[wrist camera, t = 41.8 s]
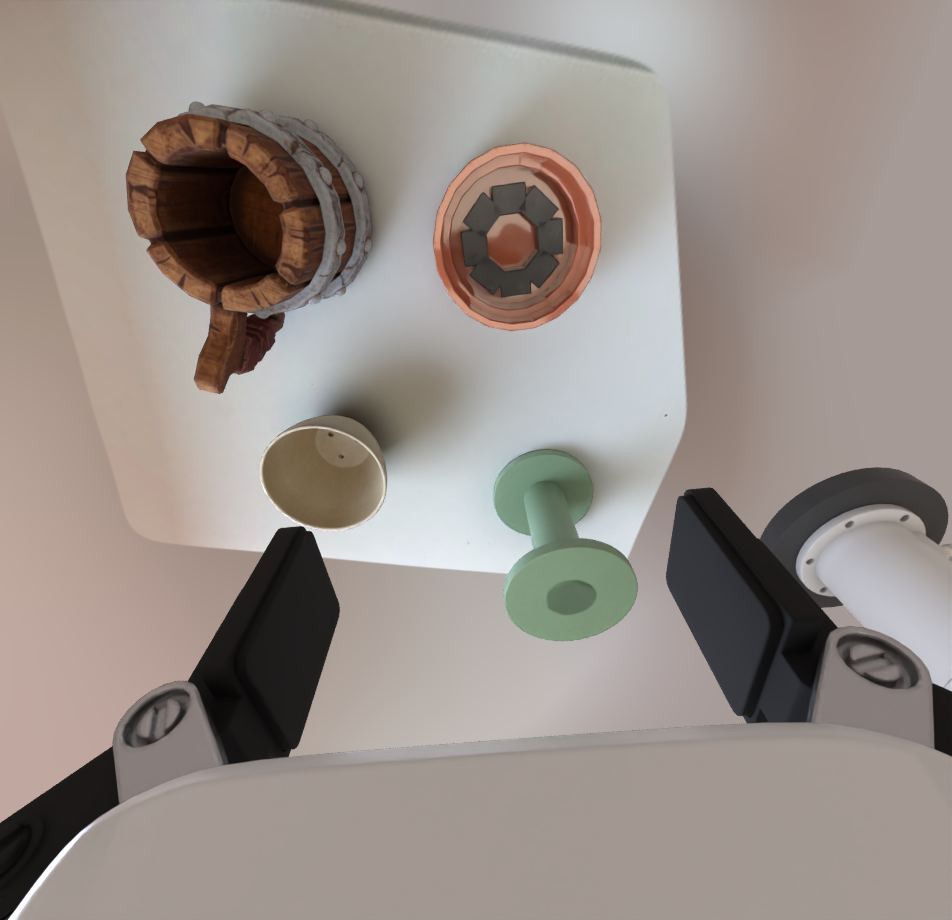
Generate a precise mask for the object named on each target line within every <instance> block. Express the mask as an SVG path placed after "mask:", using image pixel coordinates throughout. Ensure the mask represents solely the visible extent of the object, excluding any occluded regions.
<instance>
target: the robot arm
mask: <svg viewBox="0 0 952 920" xmlns="http://www.w3.org/2000/svg"><path fill="white" fill-rule="evenodd" d="M796 572H797V575H798V577H799V579H800V580H801V581H802V582H803V583H804V585H805V586H806V587H807V588H808V589H810V590H811V591H813V592H815V593H817V594H820V595H825V596H835V597H837V598H838V599H839V601H840V602H841V603H842V604H843V605H844V606H845V607H846V608H847V609H848V610H849V611H850V612H851V613H852V614H853V615H854V616H855V617H856V619H858V620H859V622H860V623H861V624H862V625H863V626H864V627H865V628H864V627H854V626H847V627H841V628H838V627H837V626H836V625H835V624H834V623H833V622H832V621H831V619H829V617H828V616H827V615H826V614H825V613H824V612H823V610H822V609H821V608H820V607H819V606H818V604H817V603H816V602H815V601H814V600H813V599H812V598H811V596H810V595H809V594H808V593H807V592H806V591H805V590H804V589H803V587H802V586H801V585H800V584H799V583H798V582H797V581H796V579H795V578H794V577H793V576H792V575H791V574H790V573H789V571H788V570H787V569H786V568H785V567H784V566H783V565H782V563H781V562H780V561H779V560H778V559H777V558H776V557H775V555H774V554H773V553H772V552H771V551H770V550H769V549H768V547H767V546H766V545H765V544H764V543H763V542H762V541H761V540H760V539H758V538H756V537H755V536H754V535H753V534H752V532H751V531H750V530H749V529H748V528H747V527H746V525H745V524H744V523H743V522H742V521H741V520H740V519H739V517H738V516H737V515H736V514H735V513H734V512H733V511H732V509H731V508H730V507H729V506H728V505H727V504H726V502H725V501H724V500H723V499H722V498H721V497H720V495H719V494H718V493H717V492H716V491H715V490H714V489H713V488H700V489H689V490H687V491H686V492H685V493H684V496H680V497H679V498H678V500H677V505H676V512H675V519H674V525H673V532H672V539H671V545H670V552H669V558H668V565H667V572H666V580H667V585H668V588H669V590H670V592H671V594H672V596H673V598H674V599H675V601H676V603H677V605H678V607H679V609H680V611H681V613H682V615H683V617H684V618H685V620H686V622H687V624H688V626H689V628H690V630H691V632H692V634H693V636H694V638H695V640H696V641H697V643H698V645H699V647H700V649H701V651H702V653H703V655H704V657H705V659H706V661H707V662H708V664H709V666H710V668H711V670H712V672H713V674H714V676H715V678H716V680H717V681H718V683H719V685H720V687H721V689H722V691H723V693H724V695H725V697H726V699H727V701H728V702H729V704H730V706H731V708H732V709H733V711H734V712H735V714H736V715H738V716H743V717H744V719H745V720H746V722H747V724H730V725H710V726H690V727H675V728H662V729H646V730H632V731H618V732H603V733H589V734H574V735H561V736H547V737H534V738H519V739H507V740H506V739H505V740H493V741H479V742H465V743H452V744H439V745H427V746H414V747H401V748H389V749H376V750H363V751H351V752H338V753H326V754H317V755H306V756H296V757H289V754H290V751H291V749H295V748H297V746H298V744H299V742H300V739H301V736H302V733H303V730H304V727H305V723H306V720H307V717H308V714H309V711H310V707H311V704H312V701H313V698H314V695H315V691H316V688H317V685H318V682H319V679H320V676H321V672H322V669H323V666H324V663H325V660H326V656H327V653H328V650H329V647H330V644H331V641H332V637H333V634H334V631H335V628H336V625H337V621H338V618H339V612H340V607H339V602H338V599H337V597H336V594H335V591H334V589H333V586H332V584H331V581H330V578H329V576H328V573H327V570H326V567H325V564H324V562H323V559H322V556H321V554H320V551H319V548H318V546H317V543H316V540H315V538H314V535H313V533H312V532H311V531H306V529H305V528H304V527H302V526H298V527H288V528H280V529H278V530H277V532H276V533H275V535H274V537H273V538H272V540H271V542H270V543H269V545H268V547H267V549H266V550H265V552H264V554H263V556H262V557H261V559H260V561H259V562H258V564H257V566H256V567H255V569H254V571H253V573H252V574H251V576H250V578H249V579H248V581H247V583H246V584H245V586H244V588H243V589H242V590H241V592H240V593H239V595H238V597H237V598H236V600H235V602H234V604H233V605H232V607H231V609H230V610H229V612H228V614H227V616H226V617H225V619H224V621H223V622H222V624H221V626H220V627H219V629H218V631H217V632H216V634H215V636H214V638H213V639H212V641H211V643H210V644H209V646H208V648H207V649H206V651H205V653H204V655H203V656H202V658H201V660H200V661H199V663H198V665H197V666H196V668H195V670H194V671H193V673H192V675H191V677H190V678H189V680H188V681H174V682H171V683H167V684H164V685H162V686H160V687H158V688H156V689H154V690H152V691H150V692H149V693H147V694H146V695H144V696H143V697H142V698H140V699H139V700H138V701H137V702H136V703H135V704H134V705H133V706H132V707H130V708H129V709H128V710H127V712H126V713H125V715H124V716H123V717H122V718H121V720H120V721H119V723H118V725H117V727H116V730H115V732H114V737H113V746H112V747H111V748H109V749H108V750H106V751H105V752H103V753H102V754H100V755H99V756H97V757H96V758H94V759H93V760H92V761H90V762H89V763H87V764H86V765H84V766H83V767H81V768H80V769H78V770H77V771H76V772H74V773H73V774H71V775H70V776H68V777H67V778H65V779H64V780H62V781H61V782H60V783H58V784H56V785H55V786H53V787H52V788H51V789H49V790H48V791H46V792H45V793H43V794H42V795H40V796H39V797H37V798H36V799H34V800H33V801H32V802H30V803H29V804H27V805H26V806H24V807H23V808H21V809H20V810H18V811H17V812H16V813H14V814H13V815H11V816H10V817H8V818H7V819H5V820H4V821H2V822H1V823H0V920H952V544H946V545H943V546H939V545H938V544H936V543H935V542H934V541H932V540H931V539H929V538H928V537H927V536H926V530H925V526H924V523H923V522H922V521H921V519H920V518H919V517H918V516H916V515H915V514H914V513H912V512H911V511H910V510H908V509H906V508H904V507H902V506H898V505H893V504H874V505H867V506H863V507H859V508H855V509H853V510H850V511H847V512H845V513H842V514H841V515H839V516H837V517H835V518H833V519H831V520H830V521H828V522H827V523H825V524H824V525H822V526H821V527H820V528H819V529H817V530H816V531H815V532H814V533H813V534H812V535H811V536H810V537H809V538H808V539H807V540H806V542H805V543H804V545H803V546H802V548H801V549H800V552H799V554H798V557H797V560H796Z"/></svg>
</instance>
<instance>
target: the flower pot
mask: <svg viewBox="0 0 952 920" xmlns="http://www.w3.org/2000/svg"><path fill="white" fill-rule="evenodd" d="M329 434H330V435H332V437H331V436H330V435H329ZM342 456H344V457H342ZM260 479H261V483H262V487H263V489H264V491H265V493H266V495H267V497H268V498H269V500H270V501H271V502H272V504H273V505H274V506H275V507H276V508H277V509H278V510H279V511H280V512H281V513H283V514H284V515H285V516H287V517H288V518H290V519H291V520H293V521H295V522H296V523H299V524H301V525H303V526H306V527H309V528H313V529H317V530H323V531H341V530H347V529H351V528H354V527H357V526H359V525H361V524H363V523H365V522H367V521H368V520H369V519H371V518H372V517H373V516H374V515H375V514H376V513H377V512H378V510H379V509H380V507H381V506H382V504H383V502H384V499H385V495H386V489H387V472H386V465H385V460H384V456H383V454H382V451H381V448H380V446H379V444H378V442H377V441H376V439H375V438H374V436H373V435H372V434H371V432H370V431H369V430H368V429H367V428H366V427H365V426H363V425H362V424H361V423H359V422H357V421H355V420H353V419H351V418H348V417H344V416H337V415H328V416H319V417H314V418H311V419H307V420H305V421H302V422H300V423H298V424H296V425H294V426H292V427H290V428H288V429H287V430H285V431H284V432H282V433H281V434H280V435H278V436H277V437H276V438H275V439H274V440H273V441H272V442H271V443H270V444H269V445H268V446H267V447H266V449H265V451H264V453H263V455H262V458H261V462H260Z"/></svg>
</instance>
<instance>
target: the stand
mask: <svg viewBox="0 0 952 920" xmlns="http://www.w3.org/2000/svg"><path fill="white" fill-rule="evenodd" d="M493 497H494V505H495V509H496V512H497V514H498V516H499V517H500V519H501V520H502V521H503V522H504V523H505V524H506V525H507V526H508V527H510V528H511V529H513V530H515V531H517V532H519V533H522V534H526V535H531V538H532V543H533V548H534V549H533V550H532V551H530V552H529V553H527V554H526V555H524V556H523V557H522V558H521V559H519V561H518V562H517V563H516V564H515V565H514V566H513V567H512V569H511V570H510V572H509V574H508V576H507V578H506V581H505V584H504V602H505V608H506V611H507V613H508V616H509V617H510V619H511V620H512V621H513V622H514V624H515V625H516V626H517V627H519V628H520V629H521V630H523V631H524V632H526V633H528V634H530V635H532V636H534V637H538V638H541V639H545V640H552V641H573V640H580V639H584V638H588V637H591V636H595V635H597V634H599V633H602V632H604V631H606V630H608V629H609V628H611V627H613V626H614V625H616V624H617V623H618V622H619V621H621V620H622V619H623V618H624V617H625V616H626V615H627V613H628V612H629V611H630V609H631V608H632V606H633V604H634V602H635V600H636V597H637V591H638V583H637V578H636V576H635V573H634V571H633V569H632V567H631V564H630V563H629V561H628V560H627V558H626V557H625V556H624V555H623V554H622V553H621V552H620V551H618V550H617V549H616V548H614V547H612V546H610V545H608V544H606V543H603V542H600V541H596V540H591V539H582V538H579V537H578V534H577V531H576V528H575V526H574V525H575V524H576V523H577V522H578V521H579V520H580V519H581V518H582V517H583V516H584V515H585V514H586V512H587V510H588V509H589V507H590V504H591V502H592V498H593V485H592V481H591V478H590V476H589V474H588V472H587V470H586V468H585V467H584V466H583V464H582V463H581V462H580V461H578V460H577V459H576V458H574V457H573V456H571V455H569V454H567V453H564V452H560V451H555V450H538V451H532V452H529V453H526V454H524V455H521V456H519V457H517V458H516V459H514V460H513V461H511V462H510V463H509V464H508V465H507V466H506V467H505V468H504V469H503V470H502V471H501V473H500V474H499V476H498V477H497V480H496V482H495V486H494V491H493Z"/></svg>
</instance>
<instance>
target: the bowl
mask: <svg viewBox="0 0 952 920" xmlns="http://www.w3.org/2000/svg"><path fill="white" fill-rule="evenodd" d="M519 182H525V184H526V191H527V190H528V189H529V187H530V186H532V185H535V186H536V187H537V188H538V189H539V190H540V191H541V192H542V193H543V194H544V195H546V196H547V197H548V198H549V199H550V200H551V201H552V202H553V203H554V204H555V205H556V206H557V207H558V208H559V209H558V211H557V212H556V213H555V215H554V216H553V217H552V218H555V217H559V218H563V254H558V255H552V256H553V257H554V258H555V259H557V260H558V261H559V265H558V266H557V267H556V269H555V270H554V271H553V272H552V274H551V275H550V276H549V277H548V279H547V280H546V281H545V282H544V284H543V285H542V286H541V287H540V288H539V289H538V288H537V287H536V286H535V285H534V284H533V283H531V294H525V295H517V296H510V297H501V295H500V293H499V288H498V290H497V291H496V292H495V294H494V295H492V294H491V293H490V292H489V291H487V290H486V289H485V288H484V287H483V286H481V285H480V284H479V283H478V282H477V281H475V280H474V279H473V278H472V277H471V276H470V275H469V271H470V270H471V268H472V267H473V266H469V267H465V265H464V257H463V249H462V241H461V230H469V229H470V228H469V227H468V226H466V225H465V224H464V223H463V220H464V218H465V217H466V215H467V214H468V212H469V211H470V210H471V208H472V207H473V205H474V204H475V202H476V201H477V199H478V198H479V196H480V195H481V193H482V192H484V193H485V194H486V195H487V196H488V197H489V198H490V199H491V193H490V187H492V186H498V185H505V184H512V183H519ZM486 236H487V246H488V256H489V257H490V258H491V259H492V260H493V261H495V262H496V263H497V264H498V265H499V266H500V267H501V268H510V267H517V266H522V265H523V264H524V263H525V261H526V260H527V259H528V257H529V256H530V255H531V254H532V252H533V251H534V250H535V239H534V226H533V225H532V224H531V223H529V222H528V221H527V220H526V219H525V218H524V217H523V216H522V215H521V214H520V213H517V214H510V215H502V216H499V218H498V219H497V221H496V222H495V223H494V225H493V226H492V228H491V229H490V230H489V232H488V233H487V235H486ZM433 247H434V253H435V259H436V266H437V271H438V274H439V276H440V278H441V280H442V282H443V284H444V286H445V288H446V291H447V293H448V295H449V296H450V297H451V299H452V300H453V301H454V302H455V303H456V304H457V305H458V306H459V307H460V308H461V309H462V310H463V312H464V313H465V314H467V315H468V316H470V317H472V318H473V319H475V320H477V321H479V322H480V323H482V324H484V325H486V326H488V327H493V328H498V329H503V330H508V331H515V330H523V329H531V328H536V327H538V326H540V325H542V324H545V323H547V322H549V321H551V320H553V319H555V318H557V317H559V316H560V315H561V314H562V313H563V312H564V311H566V310H567V309H568V308H569V307H570V306H571V305H572V304H573V303H575V302H576V301H577V299H578V298H579V297H580V295H581V294H582V292H583V290H584V289H585V287H586V286H587V284H588V283H589V281H590V279H591V278H592V276H593V273H594V269H595V266H596V263H597V260H598V256H599V253H600V249H601V216H600V213H599V209H598V206H597V202H596V199H595V195H594V192H593V190H592V188H591V187H590V185H589V184H588V182H587V181H586V179H585V178H584V176H583V175H582V173H581V172H580V170H579V169H578V167H576V165H574V164H573V163H572V162H570V161H569V160H567V159H566V158H565V157H563V156H562V155H560V154H559V153H558V152H556V151H555V150H553V149H550V148H546V147H541V146H537V145H533V144H529V143H518V144H512V145H505V146H498V147H495V148H493V149H491V150H489V151H488V152H486V153H484V154H482V155H481V156H479V157H477V158H475V159H473V160H472V161H470V162H469V163H468V164H467V165H466V166H465V168H464V169H463V170H462V171H461V172H460V173H459V174H458V175H457V177H456V178H455V179H454V180H453V181H452V182H451V183H450V185H449V187H448V189H447V191H446V193H445V196H444V198H443V200H442V202H441V205H440V207H439V209H438V211H437V215H436V223H435V231H434V238H433Z"/></svg>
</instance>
